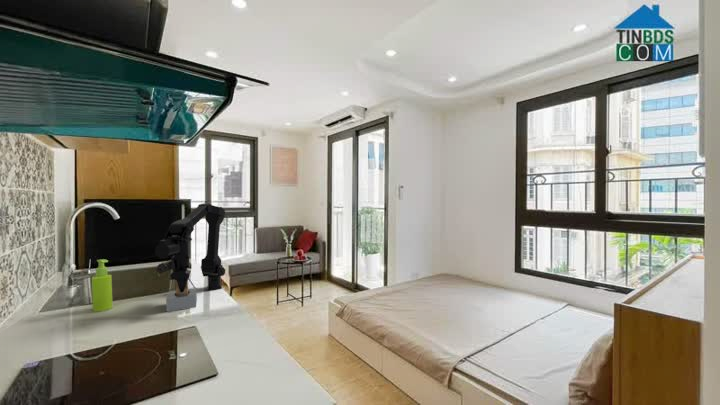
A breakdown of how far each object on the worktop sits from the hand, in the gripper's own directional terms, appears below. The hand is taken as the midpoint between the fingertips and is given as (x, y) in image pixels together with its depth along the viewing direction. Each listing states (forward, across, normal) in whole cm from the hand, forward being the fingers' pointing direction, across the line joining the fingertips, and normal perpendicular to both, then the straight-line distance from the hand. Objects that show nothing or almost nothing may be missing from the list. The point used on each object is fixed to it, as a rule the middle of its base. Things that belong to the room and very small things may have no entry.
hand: (182, 290), depth 120 cm
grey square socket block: (+6, 0, 0) cm, 6 cm away
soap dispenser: (+6, -11, -28) cm, 31 cm away
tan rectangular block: (+2, 0, 0) cm, 2 cm away
